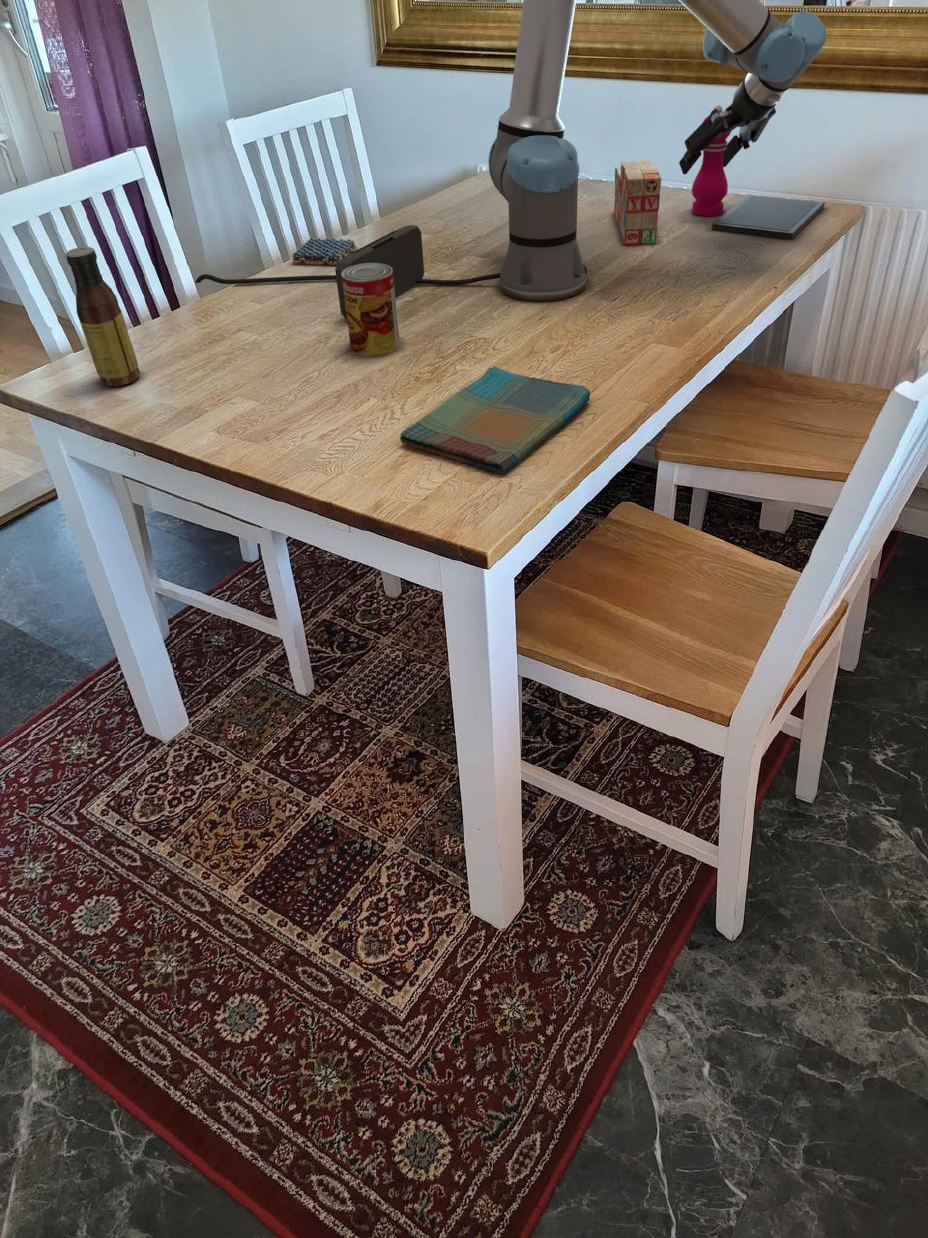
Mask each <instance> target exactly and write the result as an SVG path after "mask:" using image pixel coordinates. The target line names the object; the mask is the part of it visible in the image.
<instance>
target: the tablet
mask: <svg viewBox="0 0 928 1238" xmlns="http://www.w3.org/2000/svg"><path fill="white" fill-rule="evenodd" d="M825 202H826V201H825ZM825 202H824V201H815V200H807V199H798V198H789V197H788V198H787V197H777V196H768V195H758V194H747V195H746V196H745V197H743V199H741V200H740V201H739V202H738V203H737V204H735V205H733V207H731V208H730V209H729V210H728V211H727V212H725V213H724V214H723V215H721V216H720V217H719V218H718V219H716V220H715V221H714V222H713V223H712V224H711V230H712V231H718V232H726V233H734V234H742V235H750V236H759V237H765V238H766V237H767V238H774V239H775V238H776V239H782V240H783V239H784V240H791V241H792V240H793V239H794V238H795V237H796V236H797V235H798V234H799V233H800V232H801V231H802V230H803V229H804V228H805V227H806V226H807V225H808V224H810V222H812V221H813V219H814V218H815V217H816V216H817V215H819V214H820V213H821V211H823V210H824V209H825Z"/></svg>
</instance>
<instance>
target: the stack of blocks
mask: <svg viewBox="0 0 928 1238" xmlns="http://www.w3.org/2000/svg"><path fill="white" fill-rule="evenodd" d="M661 187H662V177H661V174H660V171H659V170H658V167H657V166H656V164H655V163H654V161H653V160H636V161H621V163H620V165H617V166H615V168H614V205H613V206H614V209H613V210H614V211H613V212H614V215H615V220H616V222H617V223H616V224H617V226H618V228H619V231H620V234H621V238H622V242H623V245H624V246H639V245H656V243H657V237H658V218H659V210H660V200H661V189H662V188H661Z"/></svg>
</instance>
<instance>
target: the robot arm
mask: <svg viewBox="0 0 928 1238" xmlns="http://www.w3.org/2000/svg"><path fill="white" fill-rule="evenodd" d="M678 1H679V2H680V3H681V4H682V6H684V7H685V8H686V9H687V10H688V12H690V13H691V14H692V16H694V17H695V18H696V19H697V20H698V21H699V22H700V23H701V24H702V25H703V26H704V27H706V29H705V32H704V36H703V43H702V52H703V56H704V58H705V59H706V60H708V61H709V62H710V61H711V62H714V63H717V64H718V65H721V64H723V65H728V66H731V67H733V68H736V69H739V70H741V71H743V72H746V73H747V74H746V76H745V78H743V80H742V81H741V82H740V84H739V85H738V86H737V88H736V89H735V91H734V93H733V98H732V101H731V103H730V104H729V105H728V106H727V107H726V108H725V109H724V111H723V110H722V112H718V110H717V109H714V108H713V109H714V110H713V109H712V110H711V111H710V114H709V115H708V116H709V117H708V116H707V117H708V118H707V119H706V120H705V121H704V120H703V121H704V122H703V121H702V122H703V123H700V125H699V126H698V127H697V128H696V129H695V130H694V131H693V132H692V133H691V134H690V135H689V136H688V137H687V138H686V139H685V140H684V145H685V148H686V151H685V153H684V154H683V157H682V158H680V160H679V162H678V164H679V166H680V170H681V172H682V175H688V173H689V171H690V170H691V169H692V168H693V166H694V165H695V164H696V162H697V161H698V160H699V158H700V157H701V156H703V153H702V152H703V150H704V149H705V148H706V147H708V146H709V145H710V144H711V143H713V142H714V141H715V140H717V139H718V138H719V137H720V136H722V135H723V134H724V133H725V134H728V133H730V132H731V133H732V132H733V131H734V130H735V129H736V128H739V130H738V134H736V135H733V136H732V137H731V139H730V140H729V141H728V142H727V144H726V145H727V149H726V150H724V154H723V168H726V167H727V166H728V165H729V163H730V162H731V161H732V160H733V159H734V158H735V157H736V155H737V154H738V153H739V152H740V151H741V150H742V149H743V150H747V149H750V147H751V145H750V142H751V143H752V144H753V143H756V142H757V141H758V140H759V138H760V137H761V135H762V133H763V132H764V130H765V129H766V126H767V125H768V123H769V121H770V119H771V118H773V116H774V115H775V114H776V113H777V109H776V105H777V104H778V103H779V102H780V101H781V99H782V98H783V97H784V95H785V94H786V93H787V92H788V90H789V89H790V88H791V87H792V86H793V85H794V83H795V82H796V81H797V80H798V79H799V78H800V76H802V74H803V73H804V72H805V70H807V69H808V68H809V66H810V65H811V64H812V63H813V62H814V61H815V59H816V57H817V56H818V55H819V53H820V52H821V50H822V49H823V47H824V46H825V43H826V40H827V32H826V31H827V30H826V26H825V25H824V23H823V21H822V20H821V18H820V17H819V16H817V15H816V14H814V13H813V12H810V11H807V10H802V11H799V12H795V13H793V14H792V15H791V16H790V17H789V18H787V20H786V21H785V22H780V21H779V19H778V18H777V17H776V16H775V15H774V14H773V13H772V12H770V10H769V9H768V8H767V7H766V6H765V5H764V4H763V3H762V2H761V1H760V0H678ZM576 4H577V0H523V1H522V8H521V9H522V10H521V17H520V24H519V30H518V31H519V32H518V40H517V45H516V54H515V63H514V68H513V77H512V86H511V93H510V100H509V107H508V109H506V110H505V111H504V112H503V113H502V114H501V115H499V117H498V124H497V132H496V138H495V139H494V141H493V143H492V145H491V147H490V150H489V154H488V172H489V175H490V178H491V181H492V183H493V185H494V187H495V189H496V190H497V191H498V193H499V194H500V195H501V196H502V197H503V198H504V199H505V201H506V202H507V204H508V245H507V250H506V253H505V257H504V261H503V264H502V267H501V271H500V272H497V273H491V274H485V275H480V276H474V277H470V278H465V279H430V278H429V279H428V278H423V279H417V280H416V283H417V284H416V285H434V286H435V285H436V286H437V285H438V286H460V285H461V286H462V285H469V284H474V283H479V282H483V281H489V280H495V279H499V289H500V291H501V292H502V293H503V294H505V295H506V296H508V297H511V298H514V299H517V300H522V301H529V302H530V301H531V302H549V301H557V300H558V301H559V300H564V299H568V298H570V297H571V298H572V297H574V296H576V295H578V294H580V293H581V292H583V291H584V290H585V288H586V286H587V277H588V276H589V274H588V268H587V266H586V265H585V264H584V262H583V259H582V254H581V252H580V248H579V245H578V242H577V235H578V234H577V232H578V231H577V228H578V227H577V226H578V197H579V196H578V194H579V193H578V191H579V189H578V188H579V174H580V164H579V163H580V162H579V155H578V150H577V148H576V146H575V145H574V143H572V142H571V141H569V140H568V139H565V138H564V135H565V129H566V126H565V124H564V123H563V121H562V119H561V118H560V116H559V112H560V107H561V100H562V93H563V86H564V80H565V75H566V68H567V62H568V55H569V49H570V42H571V36H572V29H573V24H574V18H575V10H576V6H577V5H576ZM725 119H726V122H727V125H728V126H729V127H728V128H727V125H726V122H725ZM731 133H730V134H731ZM204 280H209V281H212V282H215V283H217V284H222V285H248V284H263V283H265V284H267V283H284V282H305V281H307V282H308V281H310V282H311V281H337V280H336V274H326V275H325V274H323V275H322V274H321V275H295V276H276V277H275V276H274V277H257V278H256V277H255V278H237V279H236V278H235V279H234V278H233V279H232V278H230V279H229V278H221V277H217V276H215V275H212V274H209V273H207V274H206V273H203V274H201V275H199V276H198V277H197V278H196V279H195V281H194V283H195V284H199V283H201V282H202V281H204Z"/></svg>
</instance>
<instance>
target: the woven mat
mask: <svg viewBox="0 0 928 1238" xmlns="http://www.w3.org/2000/svg"><path fill="white" fill-rule="evenodd" d="M356 248H357V245H356V244H355V241H354V240H351V239H350V238H349V239H347V240H343V238H341V239H339V240H336V238H333V239H332V240H331V239H328V238H325V239H321V238H317V239H314V238H309V239H308V240H306V241H305V242H304V243H302V245H301V246H300V247H298V248H297V250H294V253H292V255H291V256H292V257H291V258H292V264H293V265H299V264H302V263H303V264H306V265H311V266H312V265H313V266H315V265H316V266H321V265H323V264H328V265H330V266H335V267H336V265H337V262H339V261H340V260H341V259H343V258H344V257H346V256H348V255H350V254H352V252H354V251H356Z"/></svg>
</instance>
